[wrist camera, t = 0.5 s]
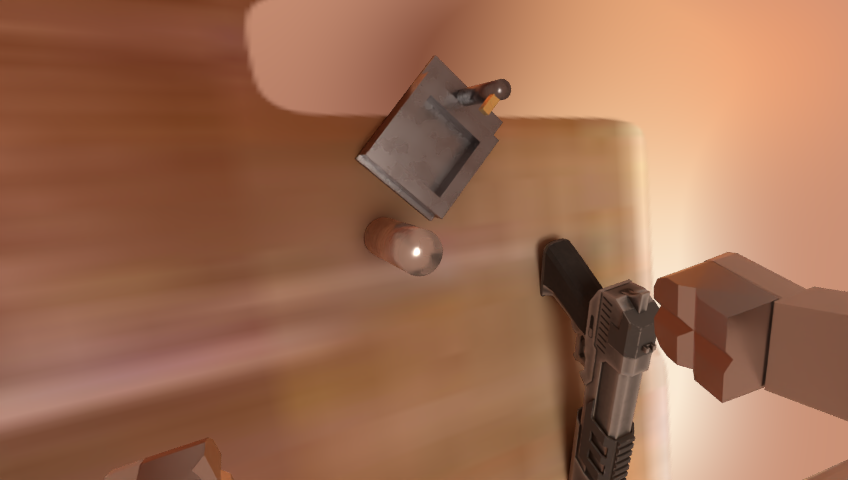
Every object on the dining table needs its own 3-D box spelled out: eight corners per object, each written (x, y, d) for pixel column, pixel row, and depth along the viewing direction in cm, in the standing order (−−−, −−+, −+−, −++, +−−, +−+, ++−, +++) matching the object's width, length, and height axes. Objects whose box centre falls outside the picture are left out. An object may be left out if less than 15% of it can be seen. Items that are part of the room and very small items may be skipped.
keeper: (355, 158, 54) (381, 159, 47) (433, 55, 56) (470, 40, 48) (429, 220, 58) (463, 229, 50) (500, 122, 59) (543, 117, 52)
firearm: (527, 442, 77) (599, 536, 65) (541, 235, 61) (642, 310, 49) (551, 431, 79) (627, 521, 67) (572, 226, 62) (678, 297, 50)
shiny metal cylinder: (357, 229, 55) (390, 243, 46) (391, 210, 56) (431, 220, 47) (374, 263, 56) (410, 284, 47) (408, 244, 57) (449, 261, 48)
